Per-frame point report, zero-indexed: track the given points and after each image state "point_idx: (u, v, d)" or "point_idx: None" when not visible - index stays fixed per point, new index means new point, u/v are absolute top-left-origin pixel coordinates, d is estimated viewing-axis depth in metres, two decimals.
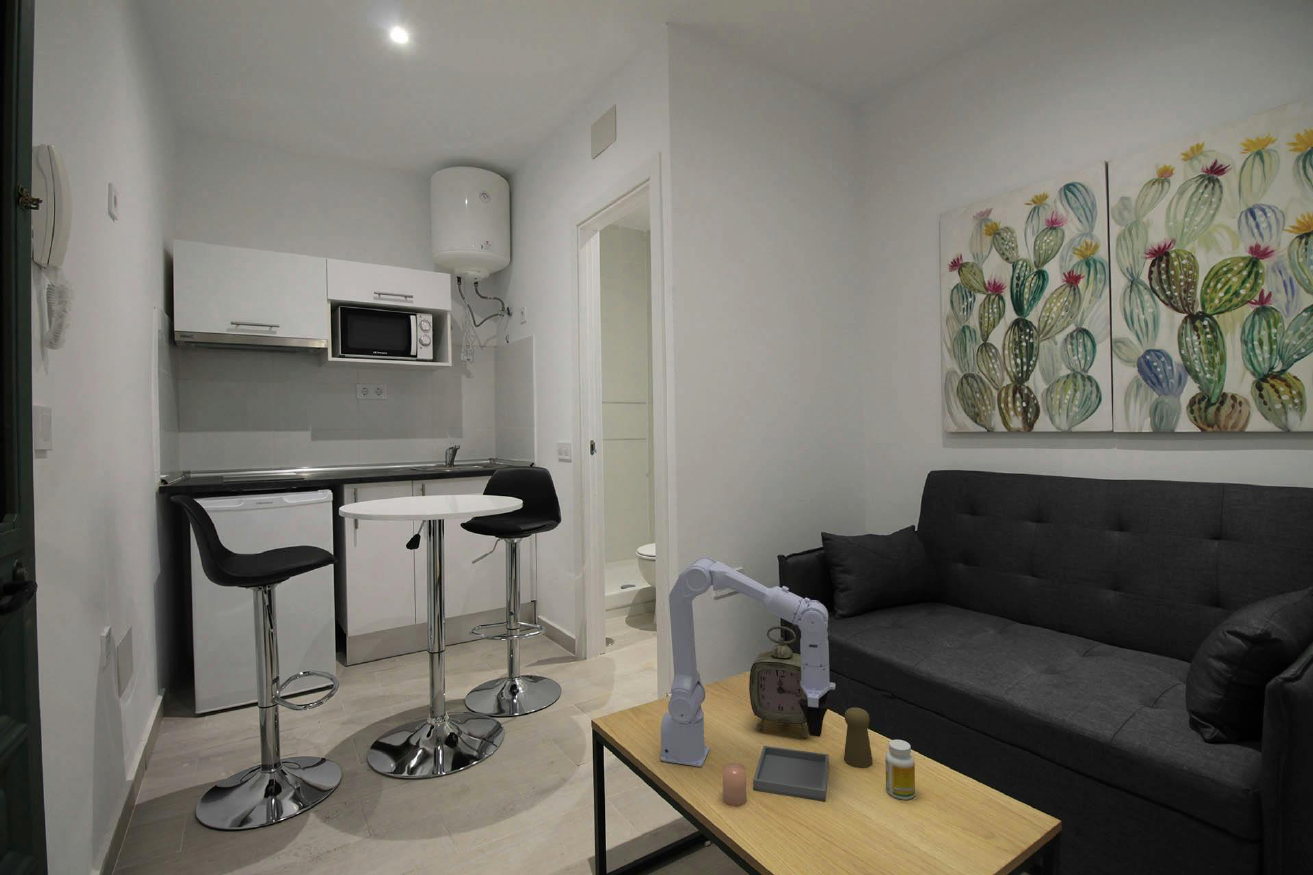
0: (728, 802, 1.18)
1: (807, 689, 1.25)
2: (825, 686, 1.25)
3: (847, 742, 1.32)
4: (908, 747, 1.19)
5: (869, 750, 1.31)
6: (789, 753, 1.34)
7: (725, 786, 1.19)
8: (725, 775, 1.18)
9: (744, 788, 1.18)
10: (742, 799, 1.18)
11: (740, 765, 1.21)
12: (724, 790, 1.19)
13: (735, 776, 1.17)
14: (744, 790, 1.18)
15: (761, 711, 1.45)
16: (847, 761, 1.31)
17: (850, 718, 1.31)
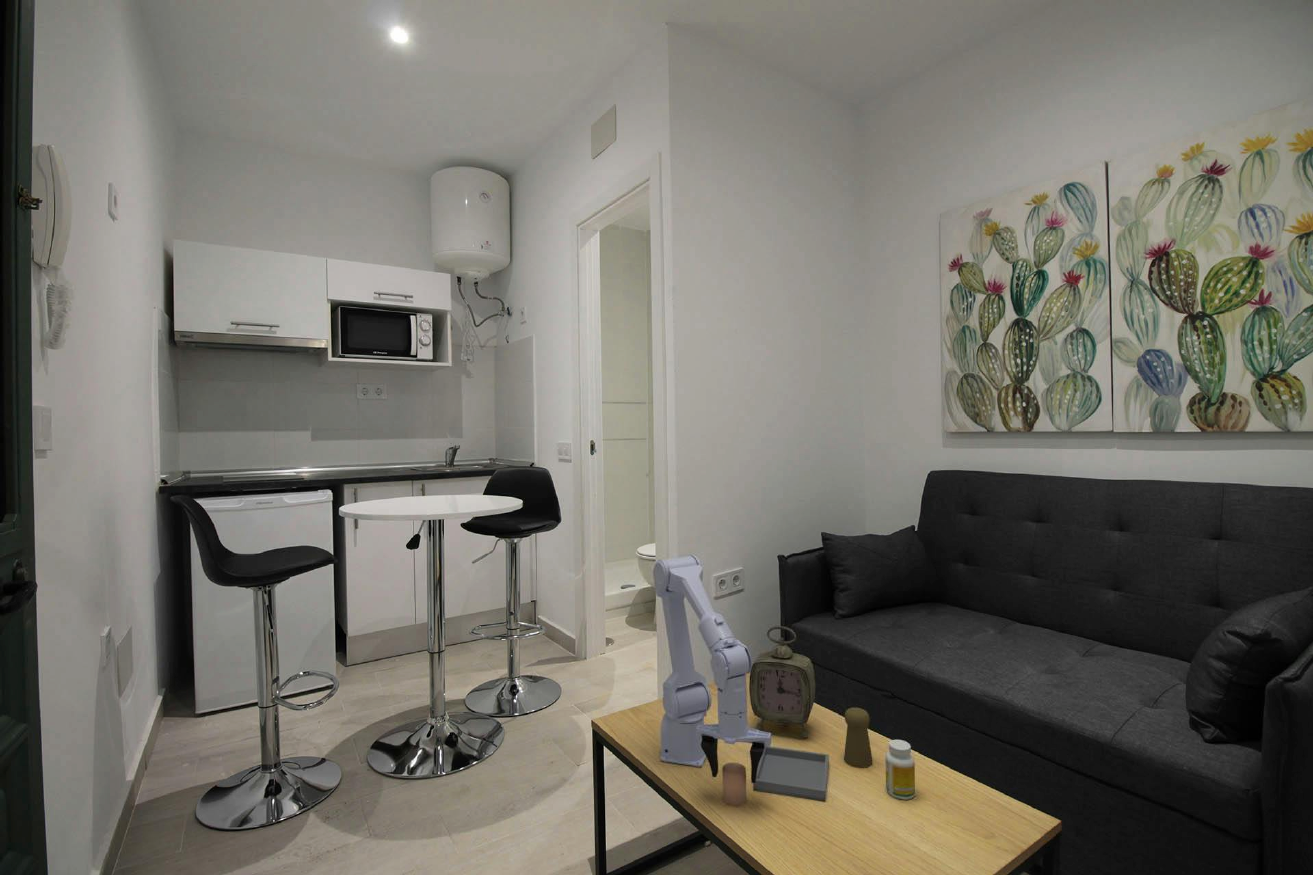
0: (728, 802, 1.18)
1: None
2: (721, 733, 1.18)
3: (847, 742, 1.32)
4: (909, 747, 1.19)
5: (869, 750, 1.31)
6: (789, 753, 1.34)
7: (725, 786, 1.19)
8: (725, 775, 1.18)
9: (744, 788, 1.18)
10: (742, 799, 1.18)
11: (740, 765, 1.21)
12: (724, 790, 1.19)
13: (735, 776, 1.17)
14: (744, 790, 1.18)
15: (761, 711, 1.45)
16: (847, 761, 1.31)
17: (850, 718, 1.31)
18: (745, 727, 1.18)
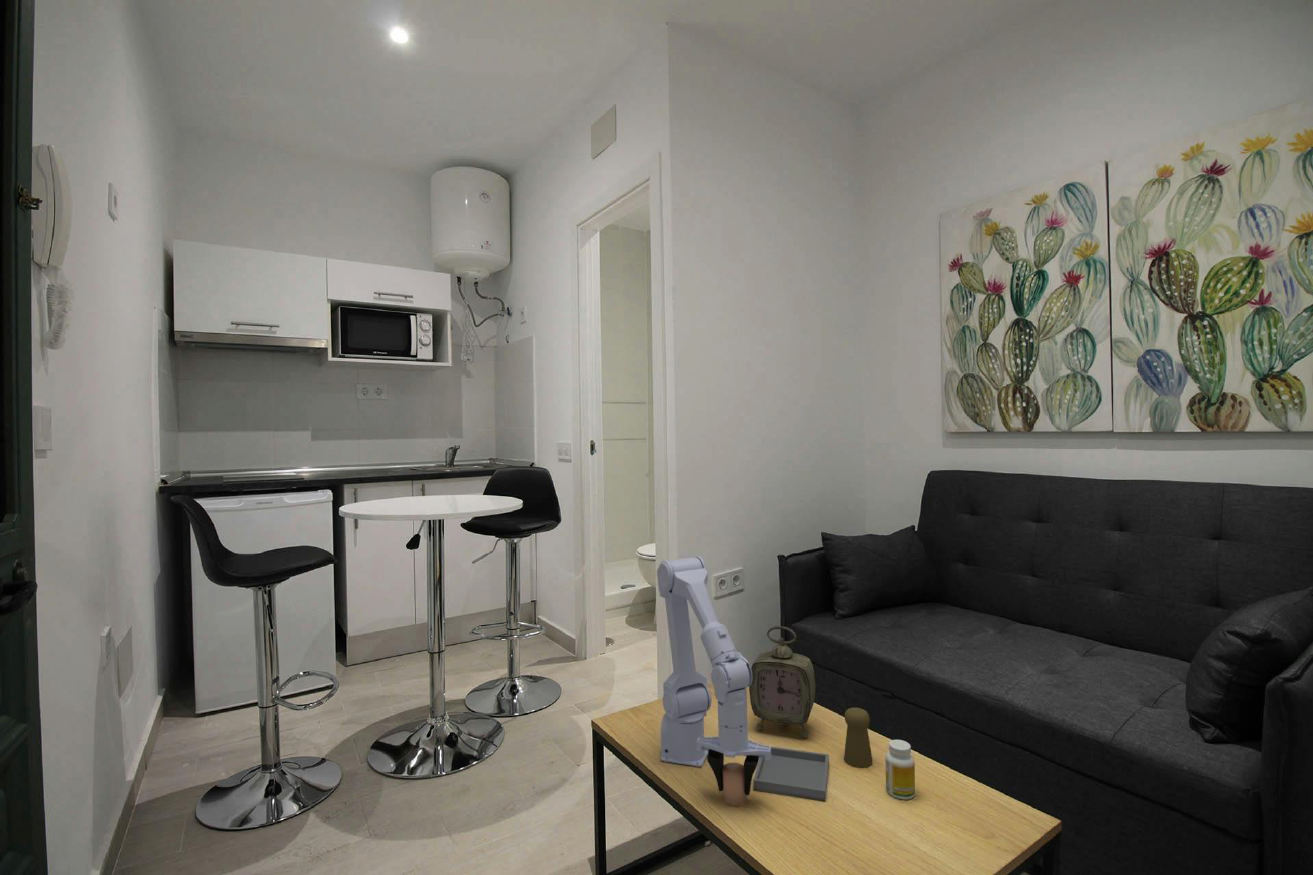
0: (728, 802, 1.18)
1: None
2: (721, 746, 1.18)
3: (847, 742, 1.32)
4: (909, 747, 1.19)
5: (869, 750, 1.31)
6: (789, 753, 1.34)
7: (725, 786, 1.19)
8: (725, 775, 1.18)
9: (744, 788, 1.18)
10: (742, 799, 1.18)
11: (740, 765, 1.21)
12: (724, 790, 1.19)
13: (734, 776, 1.17)
14: (744, 790, 1.18)
15: (761, 711, 1.45)
16: (847, 761, 1.31)
17: (850, 718, 1.31)
18: (745, 740, 1.18)
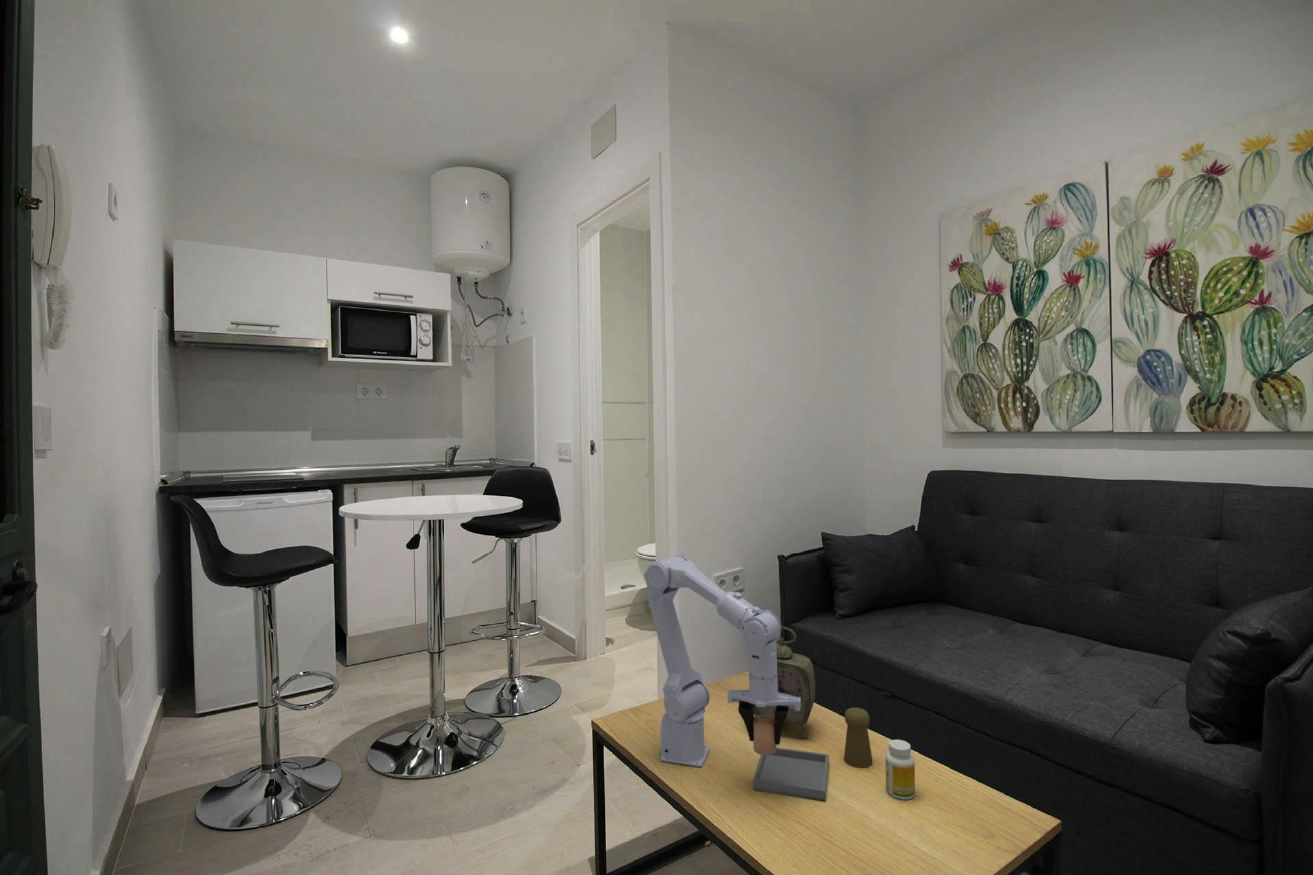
0: (758, 751, 1.22)
1: None
2: (752, 697, 1.22)
3: (847, 742, 1.32)
4: (908, 747, 1.19)
5: (869, 750, 1.31)
6: (789, 753, 1.34)
7: (755, 736, 1.22)
8: (755, 726, 1.22)
9: (774, 738, 1.22)
10: (772, 749, 1.21)
11: (770, 717, 1.24)
12: (754, 740, 1.23)
13: (765, 726, 1.21)
14: (774, 740, 1.22)
15: (761, 711, 1.45)
16: (847, 761, 1.31)
17: (850, 718, 1.31)
18: (776, 691, 1.22)
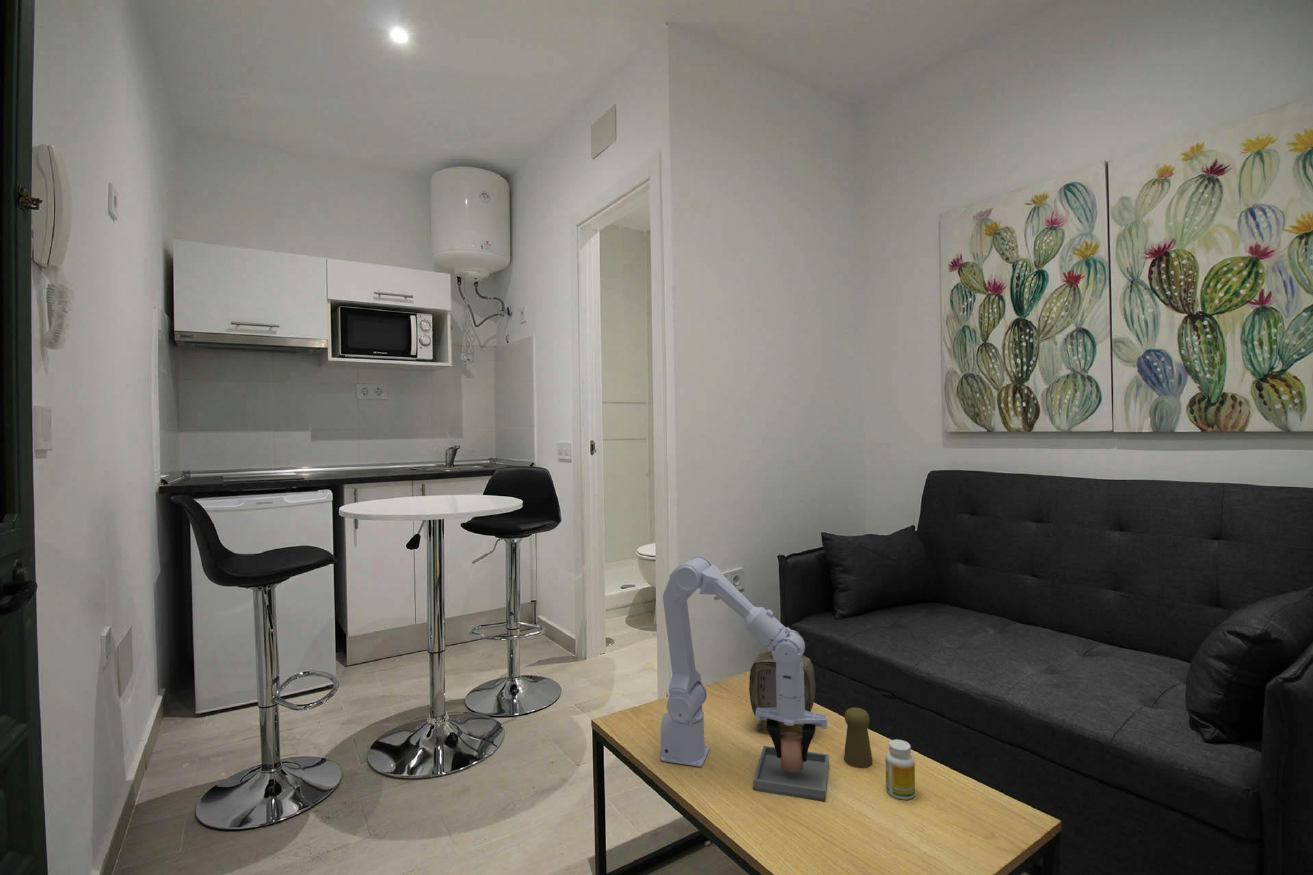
0: (786, 768, 1.25)
1: None
2: (780, 716, 1.26)
3: (847, 742, 1.32)
4: (908, 747, 1.19)
5: (869, 750, 1.31)
6: None
7: (783, 753, 1.26)
8: (783, 743, 1.26)
9: (801, 755, 1.25)
10: (800, 766, 1.25)
11: (797, 734, 1.28)
12: (782, 757, 1.26)
13: (792, 744, 1.25)
14: (801, 757, 1.25)
15: None
16: (847, 761, 1.31)
17: (850, 718, 1.31)
18: (803, 710, 1.25)
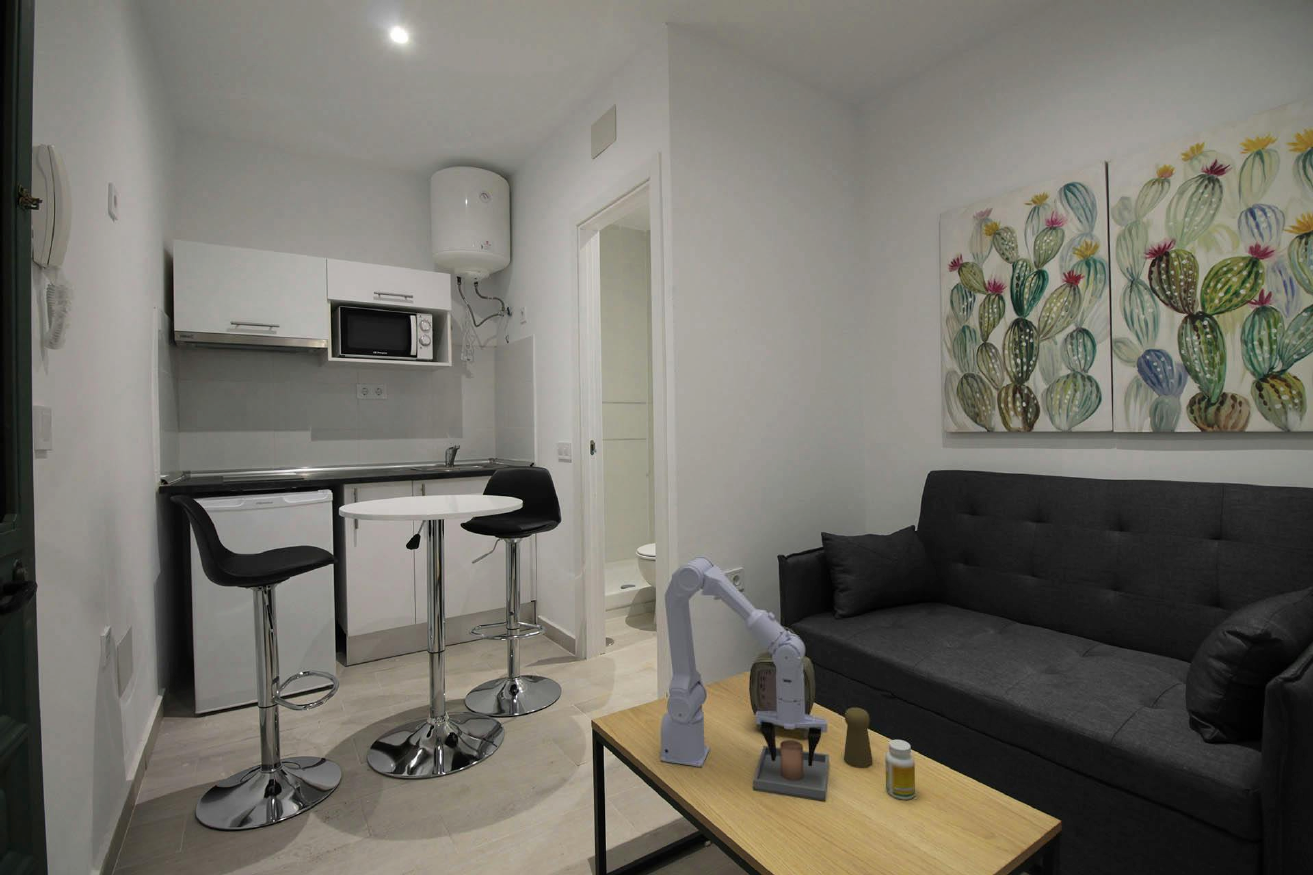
0: (786, 776, 1.25)
1: None
2: (780, 719, 1.26)
3: (847, 742, 1.32)
4: (908, 747, 1.19)
5: (869, 750, 1.31)
6: None
7: (783, 761, 1.26)
8: (783, 751, 1.26)
9: (801, 764, 1.25)
10: (800, 774, 1.25)
11: (797, 742, 1.28)
12: (782, 765, 1.26)
13: (792, 752, 1.25)
14: (801, 765, 1.25)
15: None
16: (847, 761, 1.31)
17: (850, 718, 1.31)
18: (803, 714, 1.25)
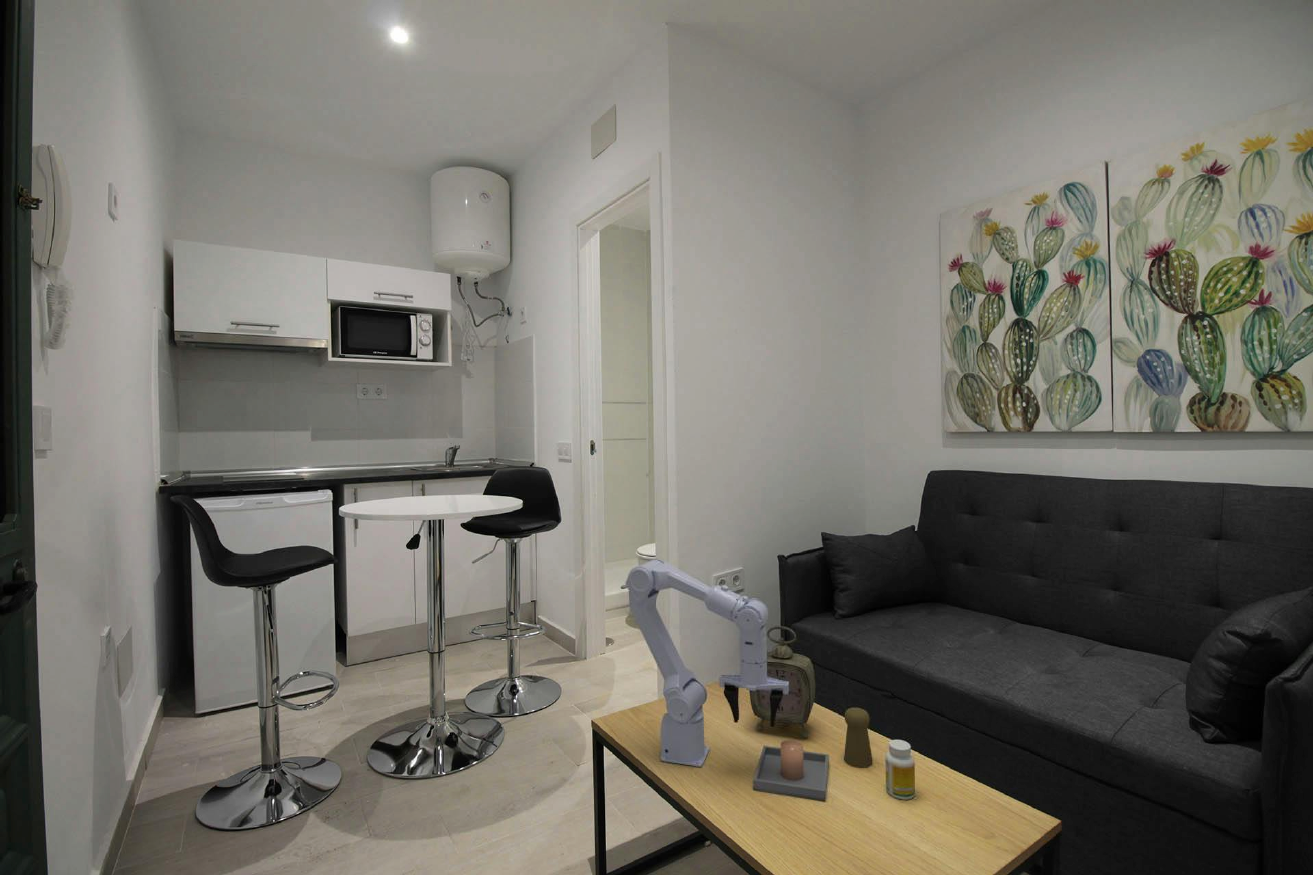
0: (786, 776, 1.25)
1: None
2: (743, 681, 1.28)
3: (847, 742, 1.32)
4: (908, 747, 1.19)
5: (869, 750, 1.31)
6: None
7: (783, 761, 1.26)
8: (784, 751, 1.26)
9: (801, 764, 1.25)
10: (800, 774, 1.25)
11: (797, 742, 1.28)
12: (782, 765, 1.26)
13: (793, 752, 1.25)
14: (801, 766, 1.25)
15: (761, 711, 1.45)
16: (847, 761, 1.31)
17: (850, 718, 1.31)
18: (765, 676, 1.28)
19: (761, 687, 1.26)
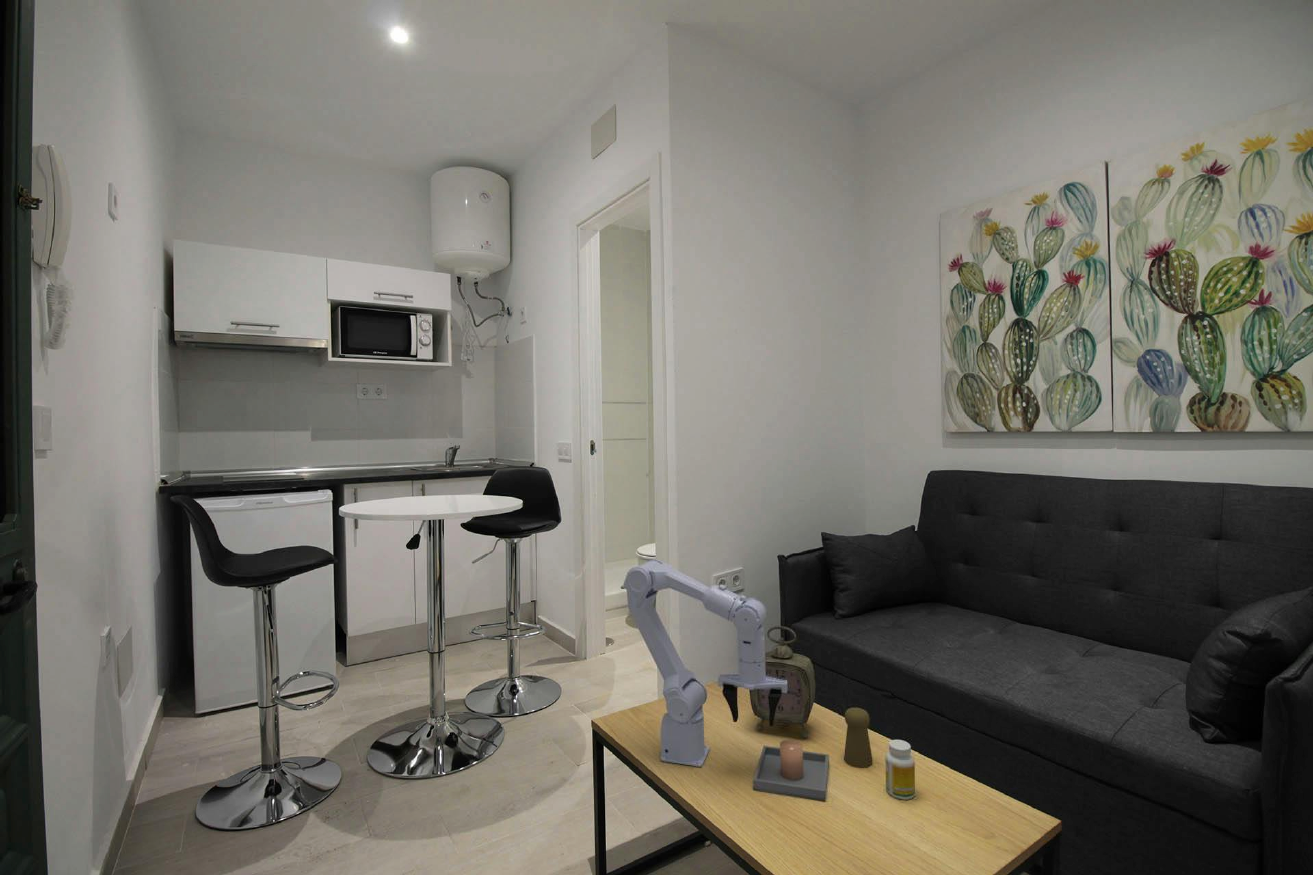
0: (786, 776, 1.25)
1: None
2: (741, 681, 1.28)
3: (847, 742, 1.32)
4: (909, 747, 1.19)
5: (869, 750, 1.31)
6: None
7: (783, 761, 1.26)
8: (783, 751, 1.26)
9: (801, 763, 1.25)
10: (800, 774, 1.25)
11: (796, 742, 1.28)
12: (782, 765, 1.26)
13: (792, 752, 1.25)
14: (801, 765, 1.25)
15: (761, 711, 1.45)
16: (847, 761, 1.31)
17: (850, 718, 1.31)
18: (763, 675, 1.28)
19: (760, 686, 1.26)
